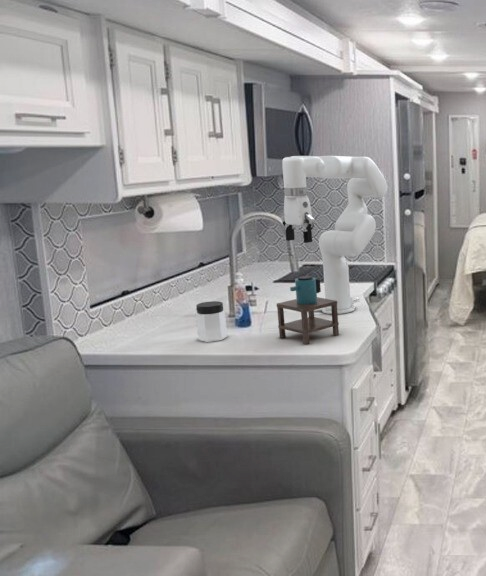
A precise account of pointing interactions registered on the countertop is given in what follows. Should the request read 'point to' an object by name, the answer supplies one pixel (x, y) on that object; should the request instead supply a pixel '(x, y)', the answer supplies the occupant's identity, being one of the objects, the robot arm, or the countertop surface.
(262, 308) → the countertop surface
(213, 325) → the jar
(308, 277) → the kettle
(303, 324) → the stand
